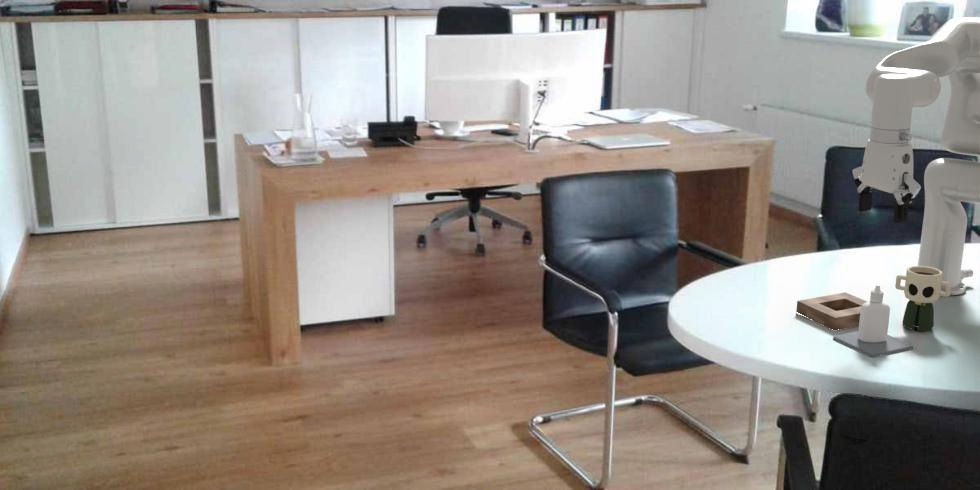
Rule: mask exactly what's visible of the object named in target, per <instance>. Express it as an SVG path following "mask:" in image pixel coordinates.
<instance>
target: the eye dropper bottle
mask: <svg viewBox="0 0 980 490" xmlns="http://www.w3.org/2000/svg"><path fill="white" fill-rule="evenodd" d="M884 293H885V292H884V291H883V290H881V285H880V284H876V285H875V288H874V289H872V290H870V297H869V298H870V299H869V301H868V302H866V303H864V304H863V305H862V306H861V311H860V320H859V326H858V331H857V332H858V339H859V340H861V341H862V342H867V343H879V342H884V341H886V340H887V335H888V331H889V322H890V314H891V313H890V312H891V307H890V306H889V304H888V303H886V302H884V300H883V299H884Z"/></svg>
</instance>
